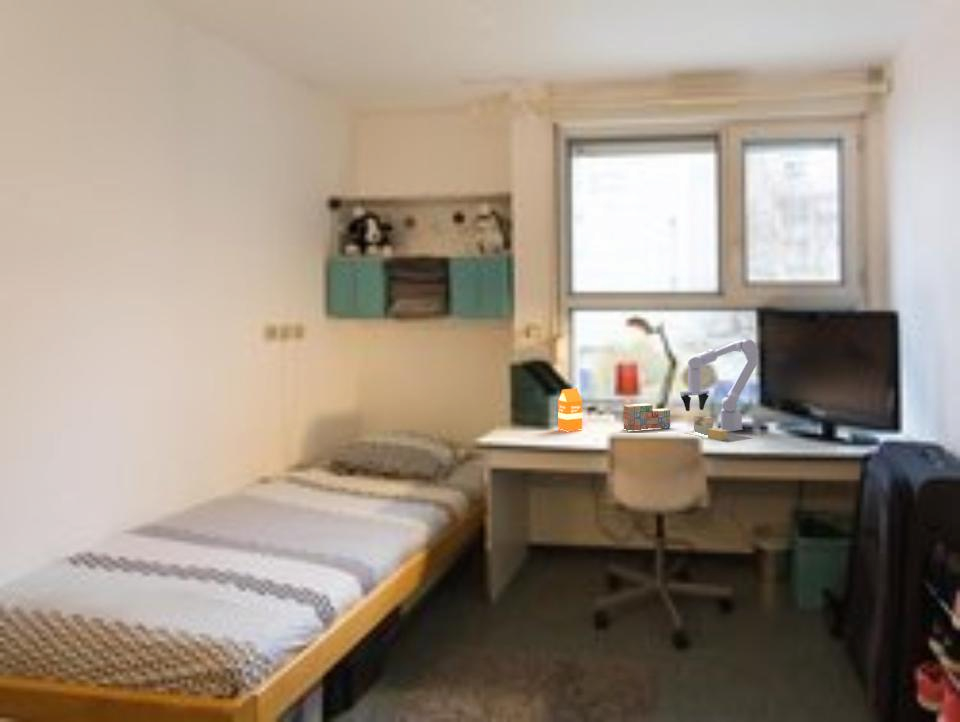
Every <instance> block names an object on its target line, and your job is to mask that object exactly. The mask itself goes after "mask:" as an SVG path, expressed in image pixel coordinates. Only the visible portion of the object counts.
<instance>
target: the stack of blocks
mask: <svg viewBox="0 0 960 722" xmlns="http://www.w3.org/2000/svg"><path fill="white" fill-rule="evenodd" d="M665 427H666V428H667V429H670V428H671V410H670V409H669V408H664V407H663V408H653V404H650V403H647V402H646V403H634V404H633V403H632V404H623V430H624V429H626V430H641V429H648V428H665ZM669 427H670V428H669ZM626 430H625V431H626Z"/></svg>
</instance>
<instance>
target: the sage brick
mask: <svg viewBox="0 0 960 722" xmlns="http://www.w3.org/2000/svg"><path fill="white" fill-rule="evenodd" d="M710 428H714V425H713V426H709V427H704V426H699V425H694V424H693V432H694V431H695V432H698V433H701V434H704V435H708V429H710Z"/></svg>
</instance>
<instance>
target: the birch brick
mask: <svg viewBox="0 0 960 722" xmlns="http://www.w3.org/2000/svg"><path fill="white" fill-rule="evenodd" d="M694 425H699V426H704V427H709V426H713V427H714V417H713V416H708V415H701V414H699V415H693V426H694Z"/></svg>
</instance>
